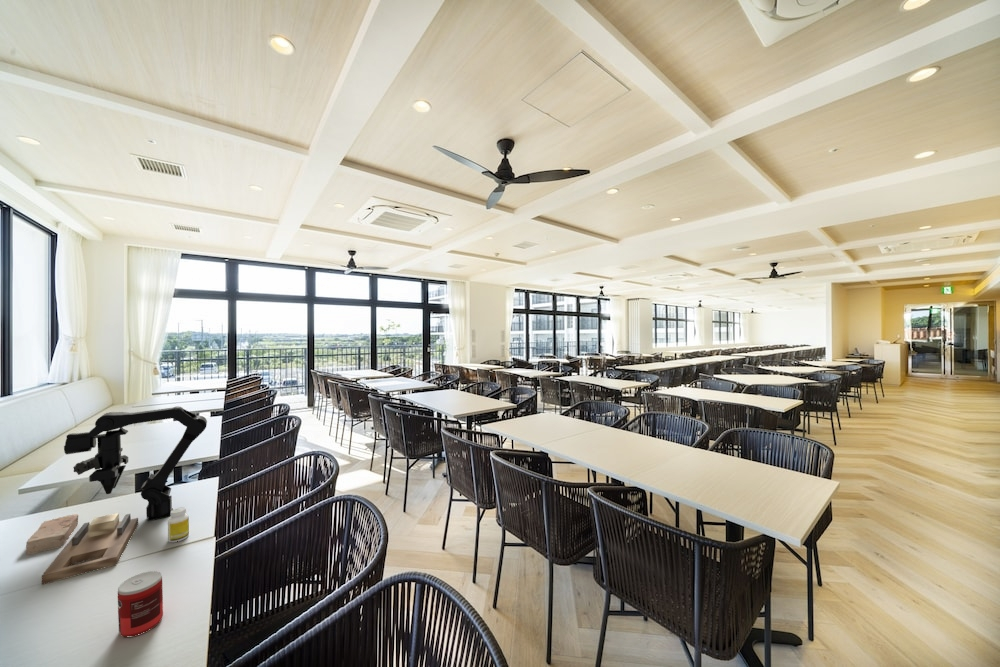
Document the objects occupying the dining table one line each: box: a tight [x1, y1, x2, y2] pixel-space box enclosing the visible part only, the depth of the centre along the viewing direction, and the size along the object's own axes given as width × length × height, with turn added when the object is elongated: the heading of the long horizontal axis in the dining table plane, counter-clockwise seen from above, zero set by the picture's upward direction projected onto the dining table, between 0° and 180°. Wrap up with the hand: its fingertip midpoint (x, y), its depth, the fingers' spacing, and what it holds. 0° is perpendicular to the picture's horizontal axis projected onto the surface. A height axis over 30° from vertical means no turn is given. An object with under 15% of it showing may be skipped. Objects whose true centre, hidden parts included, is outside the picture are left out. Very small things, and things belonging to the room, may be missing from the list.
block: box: [88, 512, 120, 537], centre depth 127 cm, size 6×6×4 cm
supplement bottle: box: [167, 507, 190, 543], centre depth 127 cm, size 5×5×10 cm
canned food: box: [117, 570, 164, 638], centre depth 90 cm, size 8×8×11 cm
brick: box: [25, 513, 79, 555], centre depth 126 cm, size 17×8×5 cm, turn 37°
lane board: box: [41, 513, 139, 585], centre depth 120 cm, size 15×28×5 cm, turn 34°
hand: (110, 491), depth 134 cm, fingers open, 5 cm apart
